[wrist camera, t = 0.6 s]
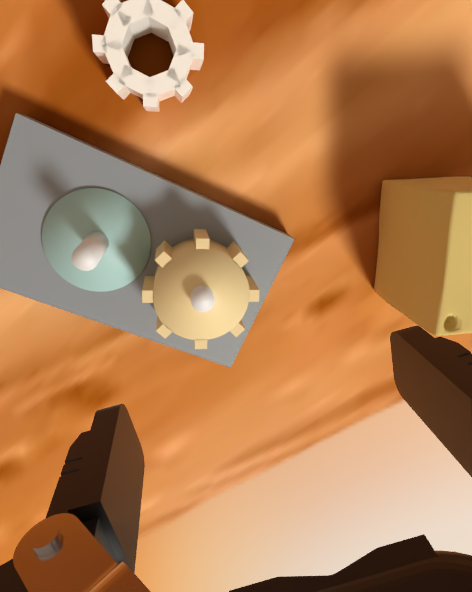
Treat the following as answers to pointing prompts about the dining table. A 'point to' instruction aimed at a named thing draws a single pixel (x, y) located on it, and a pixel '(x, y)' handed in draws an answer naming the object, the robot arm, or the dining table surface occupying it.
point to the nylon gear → (136, 23)
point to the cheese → (427, 251)
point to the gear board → (130, 245)
